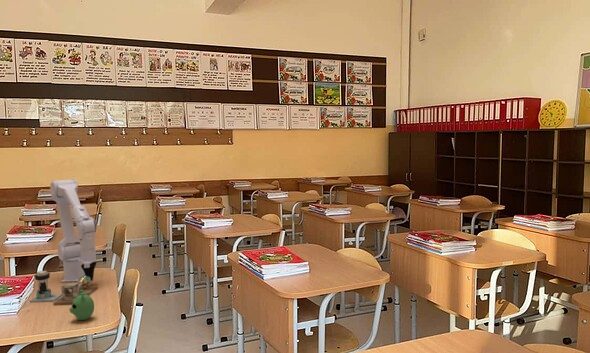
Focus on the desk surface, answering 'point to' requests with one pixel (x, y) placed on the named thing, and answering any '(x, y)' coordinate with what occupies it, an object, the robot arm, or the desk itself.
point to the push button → (43, 285)
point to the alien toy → (82, 306)
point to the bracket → (69, 298)
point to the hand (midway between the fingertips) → (90, 280)
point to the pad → (51, 298)
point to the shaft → (80, 283)
